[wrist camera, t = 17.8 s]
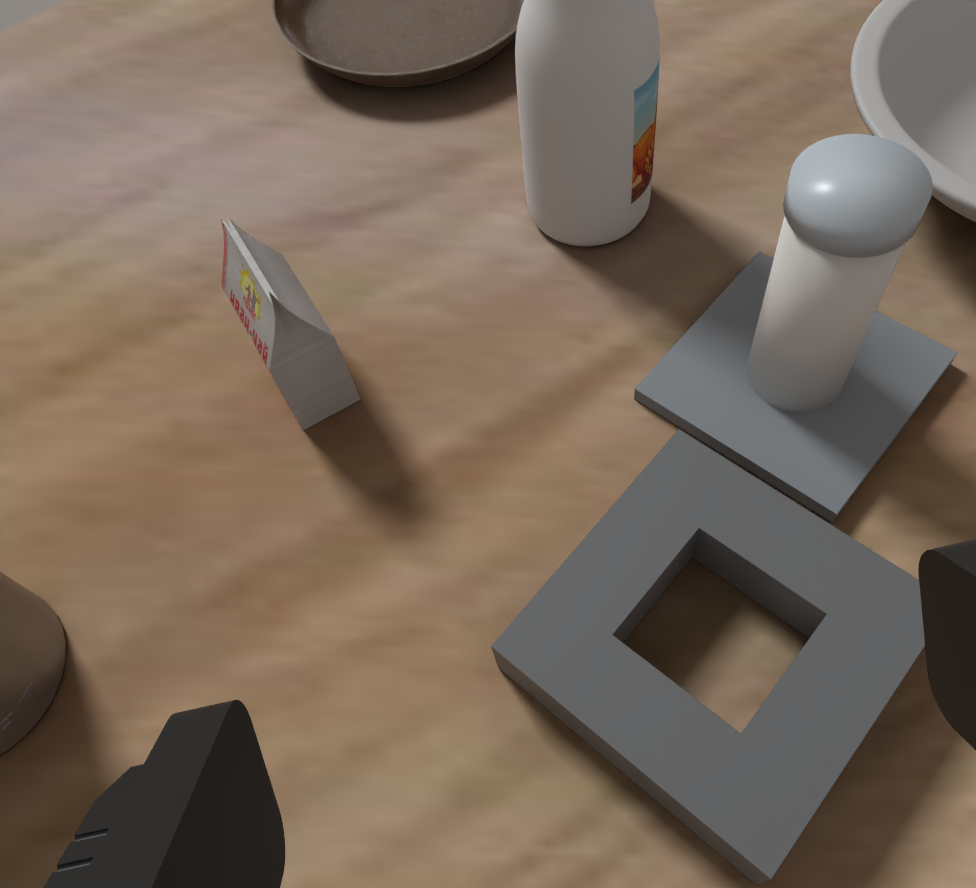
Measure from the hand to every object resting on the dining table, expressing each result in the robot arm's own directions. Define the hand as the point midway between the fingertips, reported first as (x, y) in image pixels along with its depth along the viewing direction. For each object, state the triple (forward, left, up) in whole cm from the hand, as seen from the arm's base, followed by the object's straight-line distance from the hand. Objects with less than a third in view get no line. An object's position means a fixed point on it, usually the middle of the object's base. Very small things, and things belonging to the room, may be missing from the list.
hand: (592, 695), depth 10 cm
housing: (-2, +11, -31) cm, 33 cm away
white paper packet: (-29, +10, -31) cm, 44 cm away
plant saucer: (-47, +38, -31) cm, 68 cm away
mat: (-7, +26, -31) cm, 41 cm away
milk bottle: (-24, +30, -31) cm, 49 cm away
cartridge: (-7, +26, -30) cm, 40 cm away
